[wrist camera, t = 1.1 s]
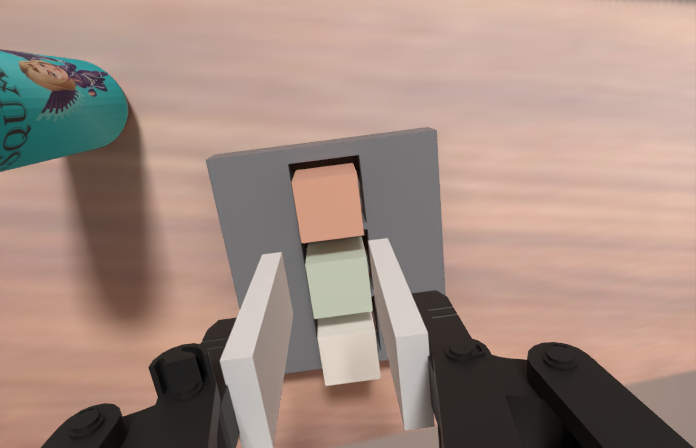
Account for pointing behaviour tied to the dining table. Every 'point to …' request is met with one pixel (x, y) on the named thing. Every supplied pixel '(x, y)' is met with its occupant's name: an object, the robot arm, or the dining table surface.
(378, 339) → the tile board
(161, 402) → the robot arm
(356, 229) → the orange cube
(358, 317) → the cream cube
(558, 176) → the dining table surface
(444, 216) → the dining table surface
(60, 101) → the beverage can
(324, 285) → the tile two bar
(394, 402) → the dining table surface
